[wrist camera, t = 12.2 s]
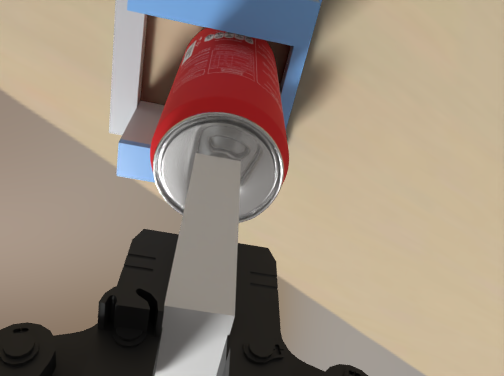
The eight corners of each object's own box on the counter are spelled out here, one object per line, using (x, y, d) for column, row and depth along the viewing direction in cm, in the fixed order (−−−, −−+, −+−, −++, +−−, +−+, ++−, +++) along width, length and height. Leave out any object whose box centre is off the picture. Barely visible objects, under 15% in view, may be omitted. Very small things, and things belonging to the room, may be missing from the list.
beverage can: (289, 37, 26) (315, 136, 16) (255, 117, 29) (259, 245, 19) (200, 2, 25) (167, 84, 15) (174, 88, 27) (130, 207, 17)
